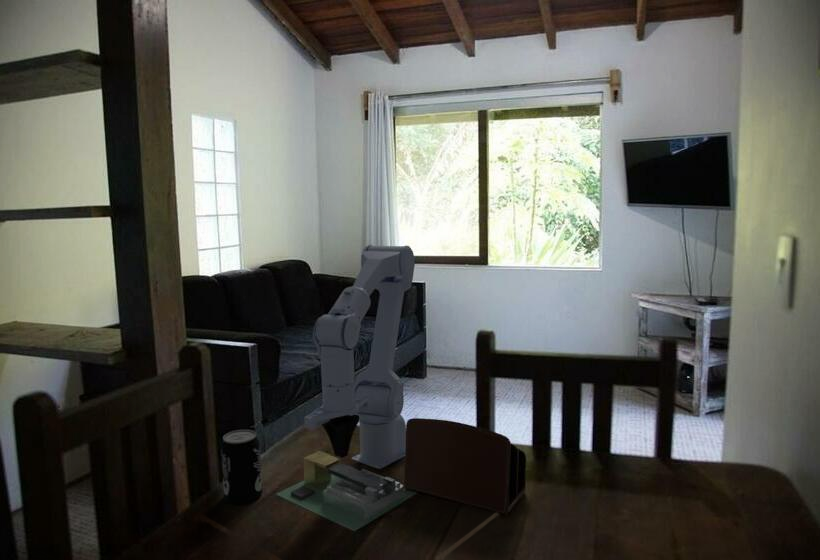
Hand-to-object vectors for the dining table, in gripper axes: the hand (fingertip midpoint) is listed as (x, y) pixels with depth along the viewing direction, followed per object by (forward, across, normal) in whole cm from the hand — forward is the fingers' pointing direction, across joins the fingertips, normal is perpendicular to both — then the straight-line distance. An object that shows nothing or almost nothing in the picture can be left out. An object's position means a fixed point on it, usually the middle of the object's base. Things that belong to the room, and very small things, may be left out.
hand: (341, 455), depth 112 cm
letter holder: (+8, +14, -17) cm, 23 cm away
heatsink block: (+7, 0, -6) cm, 9 cm away
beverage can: (+8, -12, +13) cm, 19 cm away
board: (+8, 0, -1) cm, 8 cm away
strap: (+4, 0, -4) cm, 5 cm away
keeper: (+7, 0, +5) cm, 9 cm away
